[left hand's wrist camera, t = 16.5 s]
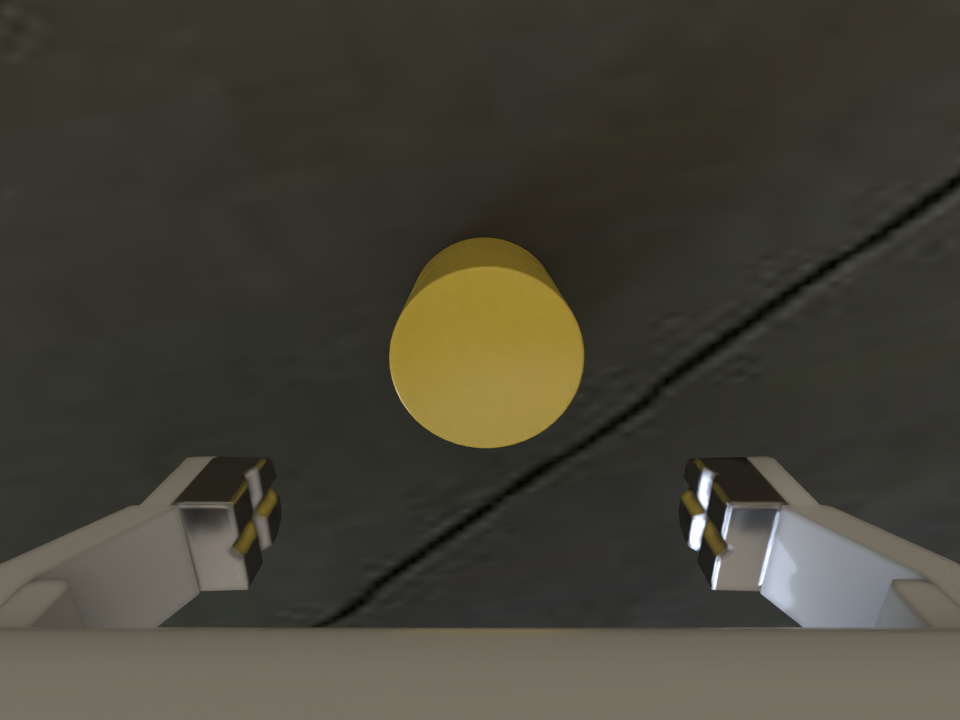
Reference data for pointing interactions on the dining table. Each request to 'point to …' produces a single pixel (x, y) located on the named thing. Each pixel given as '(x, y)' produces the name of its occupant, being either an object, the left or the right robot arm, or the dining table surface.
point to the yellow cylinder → (486, 346)
